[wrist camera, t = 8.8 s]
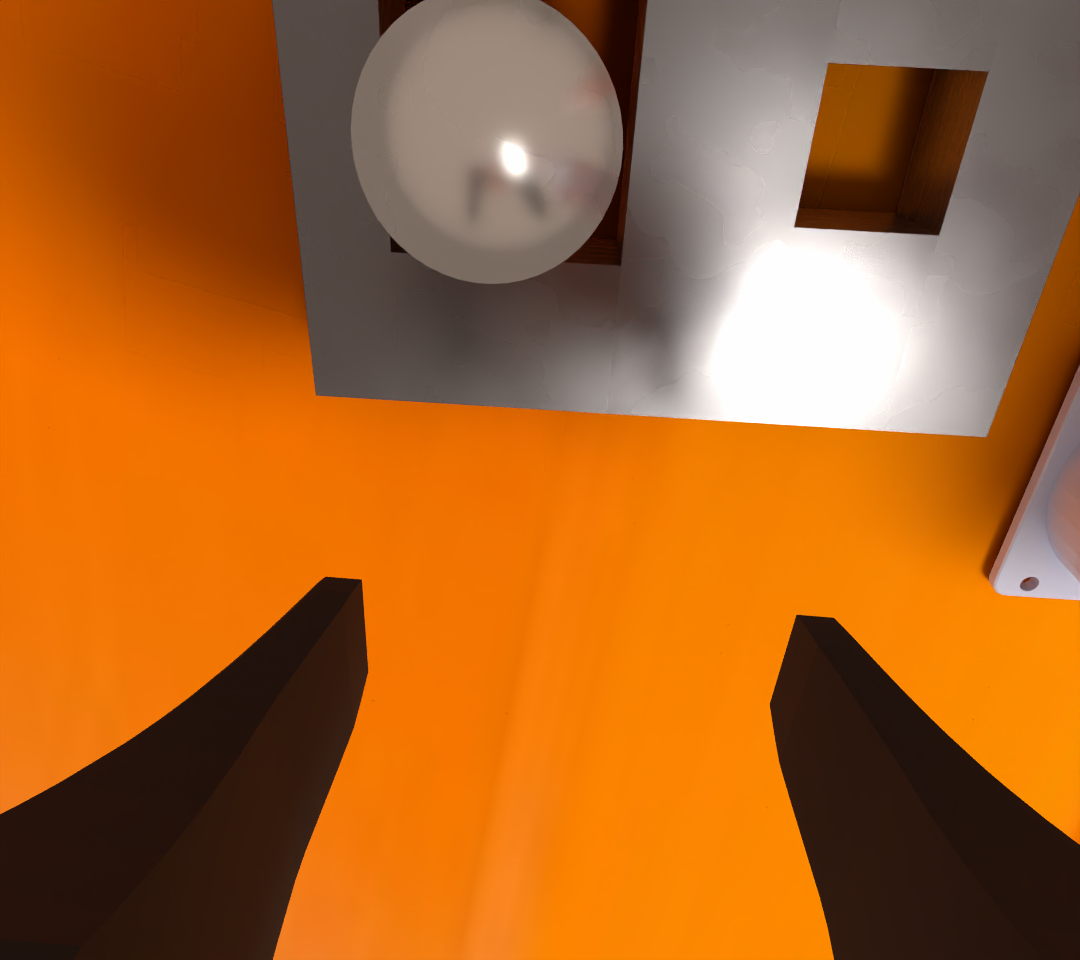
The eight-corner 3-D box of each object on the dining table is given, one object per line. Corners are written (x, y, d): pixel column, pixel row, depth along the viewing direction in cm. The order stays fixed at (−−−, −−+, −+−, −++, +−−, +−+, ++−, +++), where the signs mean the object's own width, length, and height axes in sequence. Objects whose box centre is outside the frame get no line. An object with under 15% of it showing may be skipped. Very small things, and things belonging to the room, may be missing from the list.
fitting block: (1144, -200, 14) (1247, -245, 12) (942, 395, 20) (986, 437, 18) (291, -239, 14) (239, -292, 12) (344, 358, 20) (316, 395, 18)
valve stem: (622, 23, 16) (648, 10, 10) (591, 215, 18) (598, 300, 12) (437, -5, 16) (351, -36, 10) (427, 191, 18) (350, 265, 12)
